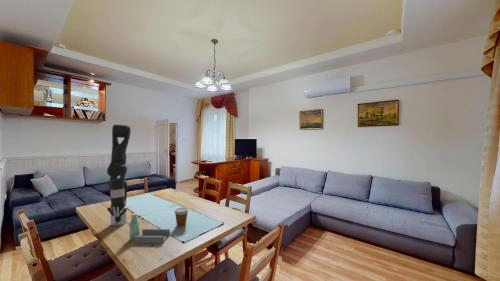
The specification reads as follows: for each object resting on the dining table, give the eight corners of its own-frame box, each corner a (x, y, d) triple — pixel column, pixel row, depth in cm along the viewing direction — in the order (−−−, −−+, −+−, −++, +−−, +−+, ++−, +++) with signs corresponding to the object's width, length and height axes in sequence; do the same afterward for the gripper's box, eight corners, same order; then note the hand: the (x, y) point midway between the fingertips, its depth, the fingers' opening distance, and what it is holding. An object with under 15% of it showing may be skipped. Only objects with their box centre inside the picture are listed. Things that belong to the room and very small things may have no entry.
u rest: (134, 242, 124) (134, 236, 123) (143, 234, 134) (143, 228, 134) (163, 243, 123) (162, 237, 123) (169, 234, 134) (169, 229, 134)
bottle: (128, 240, 126) (127, 215, 126) (133, 236, 131) (132, 212, 131) (136, 240, 126) (135, 215, 126) (140, 236, 131) (140, 212, 131)
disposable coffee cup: (176, 222, 152) (176, 207, 152) (189, 222, 153) (189, 207, 152) (172, 228, 142) (172, 212, 142) (186, 228, 143) (186, 212, 143)
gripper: (103, 197, 124) (103, 224, 125) (124, 197, 124) (124, 224, 125) (111, 193, 132) (112, 219, 132) (131, 193, 131) (131, 219, 132)
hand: (118, 221), depth 128 cm, fingers closed
